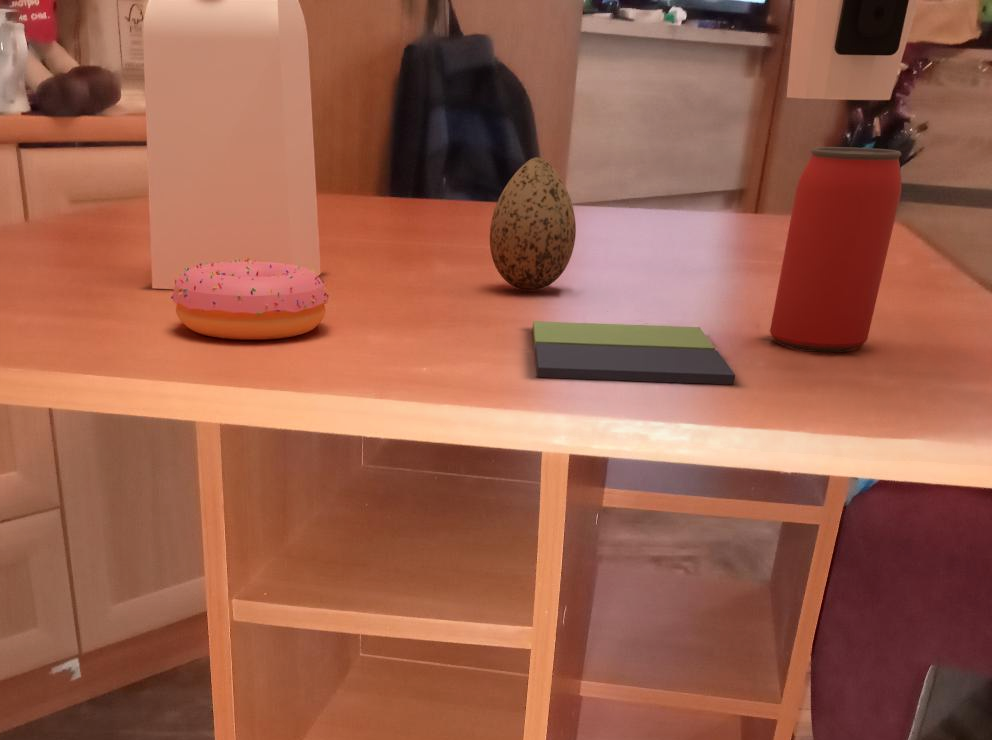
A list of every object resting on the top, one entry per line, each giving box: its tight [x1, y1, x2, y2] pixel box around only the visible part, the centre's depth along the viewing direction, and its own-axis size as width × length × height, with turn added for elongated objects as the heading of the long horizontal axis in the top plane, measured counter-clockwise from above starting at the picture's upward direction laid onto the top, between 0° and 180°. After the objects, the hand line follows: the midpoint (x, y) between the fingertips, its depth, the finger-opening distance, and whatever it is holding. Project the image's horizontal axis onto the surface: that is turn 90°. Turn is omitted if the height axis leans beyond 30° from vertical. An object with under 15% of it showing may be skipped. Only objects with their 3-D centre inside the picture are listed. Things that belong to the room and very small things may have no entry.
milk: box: [142, 0, 322, 290], centre depth 93 cm, size 12×12×26 cm
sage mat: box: [532, 320, 716, 350], centre depth 80 cm, size 12×7×1 cm, turn 85°
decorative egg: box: [489, 156, 577, 292], centre depth 96 cm, size 7×7×10 cm
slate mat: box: [534, 344, 736, 385], centre depth 73 cm, size 12×7×1 cm, turn 85°
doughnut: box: [170, 258, 330, 341], centre depth 81 cm, size 11×11×4 cm
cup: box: [786, 0, 920, 101], centre depth 63 cm, size 7×7×7 cm
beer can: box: [769, 146, 902, 353], centre depth 78 cm, size 7×7×12 cm
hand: (846, 52), depth 64 cm, fingers closed on cup, 6 cm apart
